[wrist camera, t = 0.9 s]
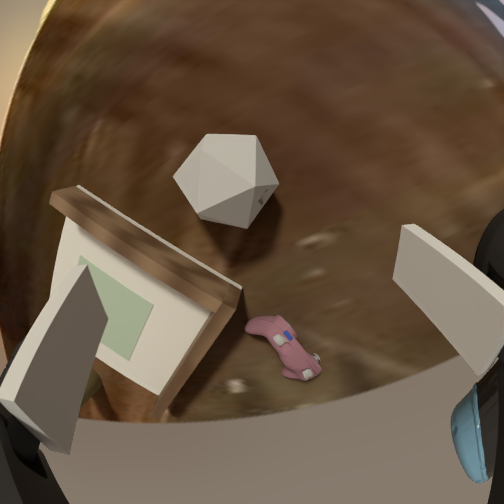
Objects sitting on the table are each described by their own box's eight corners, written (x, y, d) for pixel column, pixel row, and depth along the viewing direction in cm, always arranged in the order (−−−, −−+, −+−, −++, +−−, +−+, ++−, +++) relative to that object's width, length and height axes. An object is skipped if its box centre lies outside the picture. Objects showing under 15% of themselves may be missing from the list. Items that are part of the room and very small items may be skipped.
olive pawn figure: (77, 357, 40) (43, 396, 30) (104, 377, 40) (74, 420, 30) (73, 375, 42) (44, 411, 31) (99, 393, 42) (72, 433, 32)
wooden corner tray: (242, 286, 32) (235, 310, 27) (168, 396, 40) (158, 420, 35) (79, 185, 30) (52, 191, 25) (49, 316, 38) (31, 332, 33)
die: (211, 228, 31) (259, 258, 24) (149, 182, 26) (179, 197, 18) (253, 169, 32) (312, 180, 24) (200, 118, 26) (250, 108, 19)
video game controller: (308, 352, 36) (335, 373, 30) (282, 374, 35) (305, 399, 29) (268, 299, 34) (292, 313, 28) (239, 323, 33) (256, 343, 27)
